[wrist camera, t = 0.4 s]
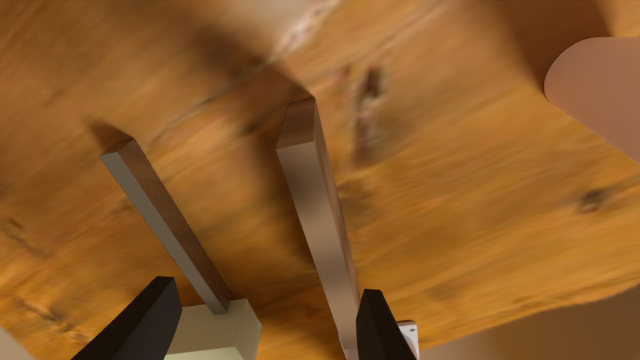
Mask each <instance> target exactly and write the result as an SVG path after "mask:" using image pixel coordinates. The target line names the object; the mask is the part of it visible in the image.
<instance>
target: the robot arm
mask: <svg viewBox="0 0 640 360" xmlns="http://www.w3.org/2000/svg"><path fill="white" fill-rule="evenodd" d="M182 311H183V310H182V306H181V302H180V298H179V294H178V291H177V287H176V283H175V279H174V277H162V276H157V277H156V278H154V279H153V281H152V282H151V283H150V284H149V285H148V286H147V287H146V288H145V289H144V290H143V291H142V292H141V293H140V294H139V295H138V296H137V297H136V298H135V299H134V300H133V301H132V302H131V303H130V304H129V305H128V306H127V307H126V308H125V309H124V310H123V311H122V312H121V313H120V314H119V315H118V316H117V317H116V318H115V319H114V320H113V321H112V322H111V323H110V324H109V325H108V326H106V327H105V328H104V329H103V330H102V331H101V332H100V333H99V334H98V335H97V336H96V337H95V338H94V339H93V340H92V341H91V342H89V343H88V344H87V345H86V346H85V347H84V348H83V349H82V350H81V351H79V352H78V353H77V354H76V355H75V356H74V357H73V358H72V359H71V360H164V358H165V356H166V354H167V351H168V349H169V347H170V345H171V343H172V340H173V338H174V335H175V332H176V329H177V326H178V323H179V320H180V317H181V314H182ZM338 337H339V340H340V343H341V346H342V349H343V352H344V355H345V357H346V360H419V350H418V336H417V326H416V323H415V322H413V321H409V322H401V323H396V321H395V319H394V317H393V315H392V313H391V311H390V309H389V306H388V304H387V302H386V300H385V298H384V296H383V293H382V292H381V291H380V290H373V289H364V292H363V295H362V299H361V303H360V306H359V310H358V313H357V317H356V338H357V348H354V349H346V350H344V347H343V344H342V342H341V339H340V336H339V333H338Z"/></svg>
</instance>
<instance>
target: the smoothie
mask: <svg viewBox="0 0 640 360" xmlns="http://www.w3.org/2000/svg"><path fill="white" fill-rule="evenodd" d="M544 93H545V96H546V98H547V99H548V100H549V101H550V102H551V103H552V104H554V105H555V106H556V107H558V108H559V109H561V110H562V111H564V112H565V113H566V114H568V115H569V116H571V117H572V118H574V119H575V120H576V121H578V122H579V123H581V124H582V125H584V126H585V127H586V128H588V129H589V130H591V131H592V132H594V133H595V134H596V135H598V136H599V137H601V138H602V139H604V140H605V141H606V142H608V143H609V144H611V145H612V146H614V147H615V148H616V149H618V150H619V151H621V152H622V153H624V154H625V155H626V156H628V157H629V158H631V159H632V160H634V161H635V162H636V163H638V164H639V165H640V36H636V37H594V38H588V39H584V40H582V41H579V42H577V43H575V44H573V45H572V46H570V47H569V48H567V49H566V50H565V51H564V52H562V53H561V54H560V55H559V56H558V57H557V58H556V60H555V61H554V62H553V64H552V65H551V67H550V68H549V70H548V72H547V74H546V77H545V81H544Z"/></svg>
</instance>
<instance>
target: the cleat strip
mask: <svg viewBox="0 0 640 360" xmlns="http://www.w3.org/2000/svg"><path fill="white" fill-rule="evenodd" d="M99 157H100V159H101V160H102V161H103V163H104V164H105V166H106V167H107V168H108V170H109V171H110V172H111V174H112V175H113V177H114V178H115V179H116V181H117V182H118V184H119V185H120V186H121V188H122V189H123V190H124V192H125V193H126V195H127V196H128V197H129V199H130V200H131V202H132V203H133V204H134V206H135V207H136V208H137V210H138V211H139V213H140V214H141V215H142V217H143V218H144V219H145V221H146V222H147V224H148V225H149V226H150V228H151V229H152V231H153V232H154V233H155V235H156V236H157V237H158V239H159V240H160V242H161V243H162V244H163V246H164V247H165V248H166V250H167V251H168V253H169V254H170V255H171V257H172V258H173V260H174V261H175V262H176V264H177V265H178V266H179V268H180V269H181V271H182V272H183V273H184V275H185V276H186V278H187V279H188V280H189V282H190V283H191V284H192V286H193V287H194V289H195V290H196V291H197V293H198V294H199V295H200V297H201V298H202V300H203V301H204V302H205V304H206V305H207V307H208V308H209V309H210V311H211V312H212V313H213V315H219V314H226V313H227V311H228V307H229V304H230V301H231V297H232V294H231V293H230V291H229V289H228V288H227V286H226V285H225V283H224V281H223V280H222V278H221V277H220V275H219V273H218V272H217V270H216V269H215V267H214V265H213V264H212V262H211V261H210V259H209V257H208V256H207V254H206V253H205V251H204V249H203V248H202V246H201V245H200V243H199V241H198V240H197V238H196V237H195V235H194V233H193V232H192V230H191V229H190V227H189V225H188V224H187V222H186V221H185V219H184V217H183V216H182V214H181V213H180V211H179V210H178V208H177V206H176V205H175V203H174V202H173V200H172V198H171V197H170V195H169V194H168V192H167V190H166V189H165V187H164V186H163V184H162V182H161V181H160V179H159V178H158V176H157V174H156V173H155V171H154V170H153V168H152V166H151V165H150V163H149V162H148V160H147V158H146V157H145V155H144V154H143V152H142V150H141V149H140V147H139V146H138V144H137V142H136V141H135V139H131V140H127V141H123V142H118V143H116V144H115V145H113V146H112V147H111V148H109V149H108V150H106V151H105V152H104V153H102V154H101V155H99Z"/></svg>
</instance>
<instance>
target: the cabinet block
mask: <svg viewBox="0 0 640 360" xmlns="http://www.w3.org/2000/svg"><path fill="white" fill-rule="evenodd" d="M182 310H183V311H182V314H181V317H180V320H179V323H178V326H177V329H176V332H175V335H174V338H173V340H172V343H171V345H170V347H169V349H168V351H167V354H166V356H165V358H164V360H256V355H257V349H258V343H259V337H260V332H261V326H262V325H261V323H260V322H259V320H258V318H257V316H256V314H255V313H254V311H253V309H252V307H251V306H250V304H249V302H248V300H247V298H245V299H238V300H231V301H230V304H229V307H228V311H227V313H226V314H219V315H213V313H212V312H211V311H210V309H209V308H208V307H207V305H206V304H203V305H195V306H188V307H182Z"/></svg>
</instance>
